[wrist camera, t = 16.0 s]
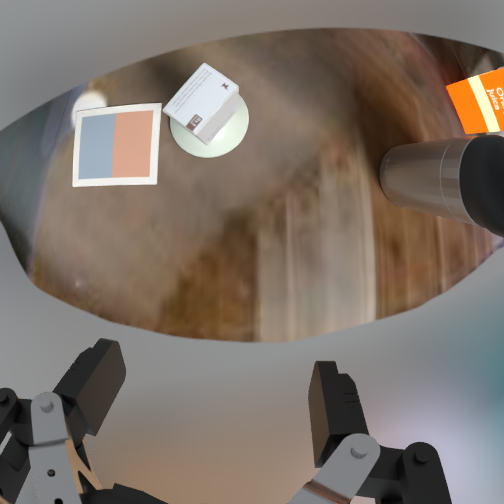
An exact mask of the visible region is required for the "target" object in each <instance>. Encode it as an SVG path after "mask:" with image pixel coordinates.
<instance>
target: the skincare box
mask: <svg viewBox="0 0 504 504" xmlns="http://www.w3.org/2000/svg"><path fill="white" fill-rule="evenodd" d="M238 90H239V86H238V85H236V84H235V83H233V82H232V81H231V80H229V79H228V78H226V77H225V76H223V75H222V74H221V73H219V72H218V71H216V70H215V69H213V68H212V67H210V66H209V65H207V64H206V63H203V64H202V65H201V66H200V67H199V68H198V69H197V70H196V71H195V73H194V74H193V75H192V76H191V77H190V78H189V79H188V80H187V81H186V83H185V84H184V85H183V86H182V87H181V88H180V89H179V91H178V92H177V93H176V94H175V95H174V97H173V98H172V99H171V100H170V101H169V102H168V104H167V105H166V106H165V108H164V109H163V112H164V113H166V114H167V115H168V116H169V117H171V118H172V119H173V120H175V121H176V122H177V123H178V124H180V125H181V126H182V127H183V128H185V129H186V130H188V131H189V132H190V133H192V134H193V135H194V136H195V137H197V138H198V139H199V140H200V141H202V142H203V143H204V144H205V145H208V144H209V143H210V142H211V141H212V140H213V139H214V137H215V136H216V135H217V134H218V133H219V132H220V130H221V129H222V128H223V127H224V126H225V125H226V124H227V122H228V121H229V120H230V119H231V118H232V117H233V116H234V115H235V114H236V112H237V107H238Z"/></svg>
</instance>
